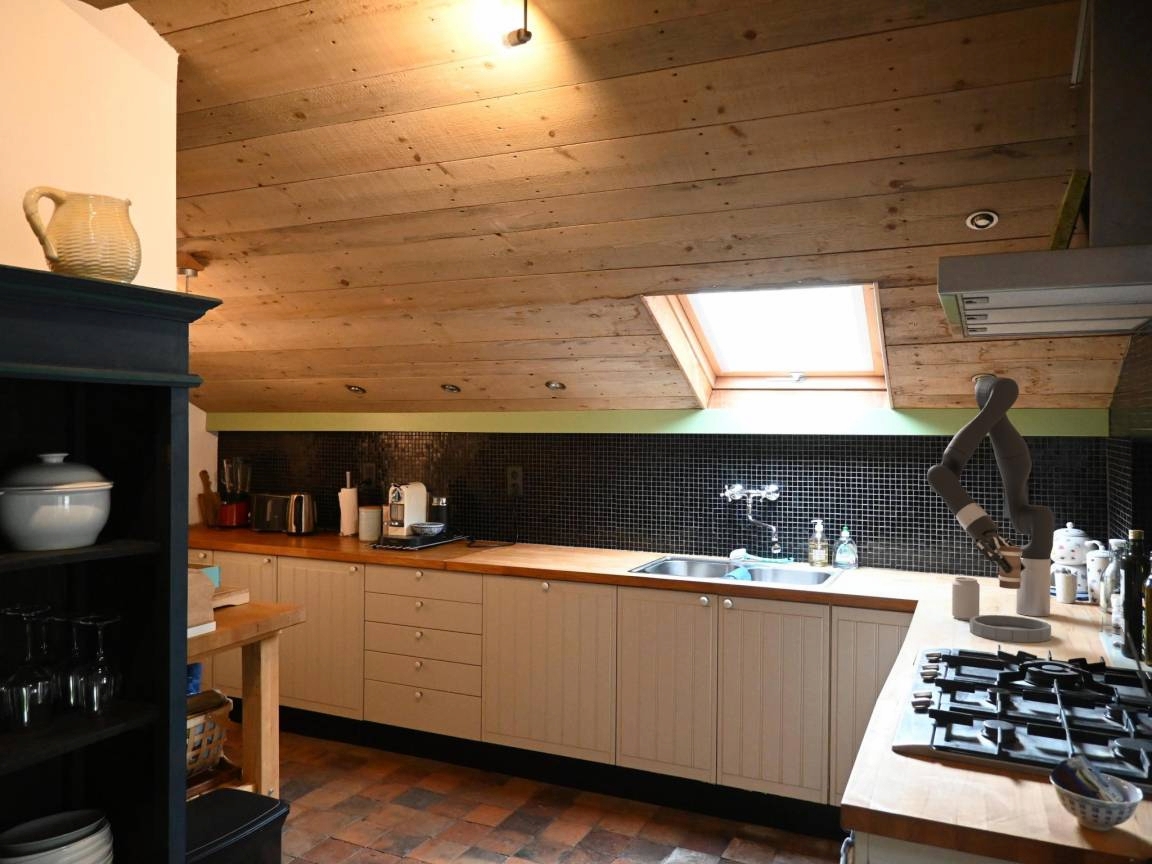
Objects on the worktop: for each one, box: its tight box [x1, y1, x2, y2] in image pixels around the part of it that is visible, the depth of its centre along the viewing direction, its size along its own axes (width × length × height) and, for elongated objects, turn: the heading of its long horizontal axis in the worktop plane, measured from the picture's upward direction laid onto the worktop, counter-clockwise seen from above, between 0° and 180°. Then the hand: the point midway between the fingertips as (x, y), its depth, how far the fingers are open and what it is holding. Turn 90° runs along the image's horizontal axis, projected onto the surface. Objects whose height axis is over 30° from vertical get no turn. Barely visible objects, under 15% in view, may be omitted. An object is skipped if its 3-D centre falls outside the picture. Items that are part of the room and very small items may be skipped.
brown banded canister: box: [997, 545, 1022, 590], centre depth 248 cm, size 6×6×11 cm
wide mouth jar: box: [951, 576, 981, 622], centre depth 269 cm, size 8×8×12 cm
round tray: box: [969, 614, 1052, 644], centre depth 248 cm, size 20×20×3 cm
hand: (1016, 570), depth 246 cm, fingers closed on brown banded canister, 5 cm apart
